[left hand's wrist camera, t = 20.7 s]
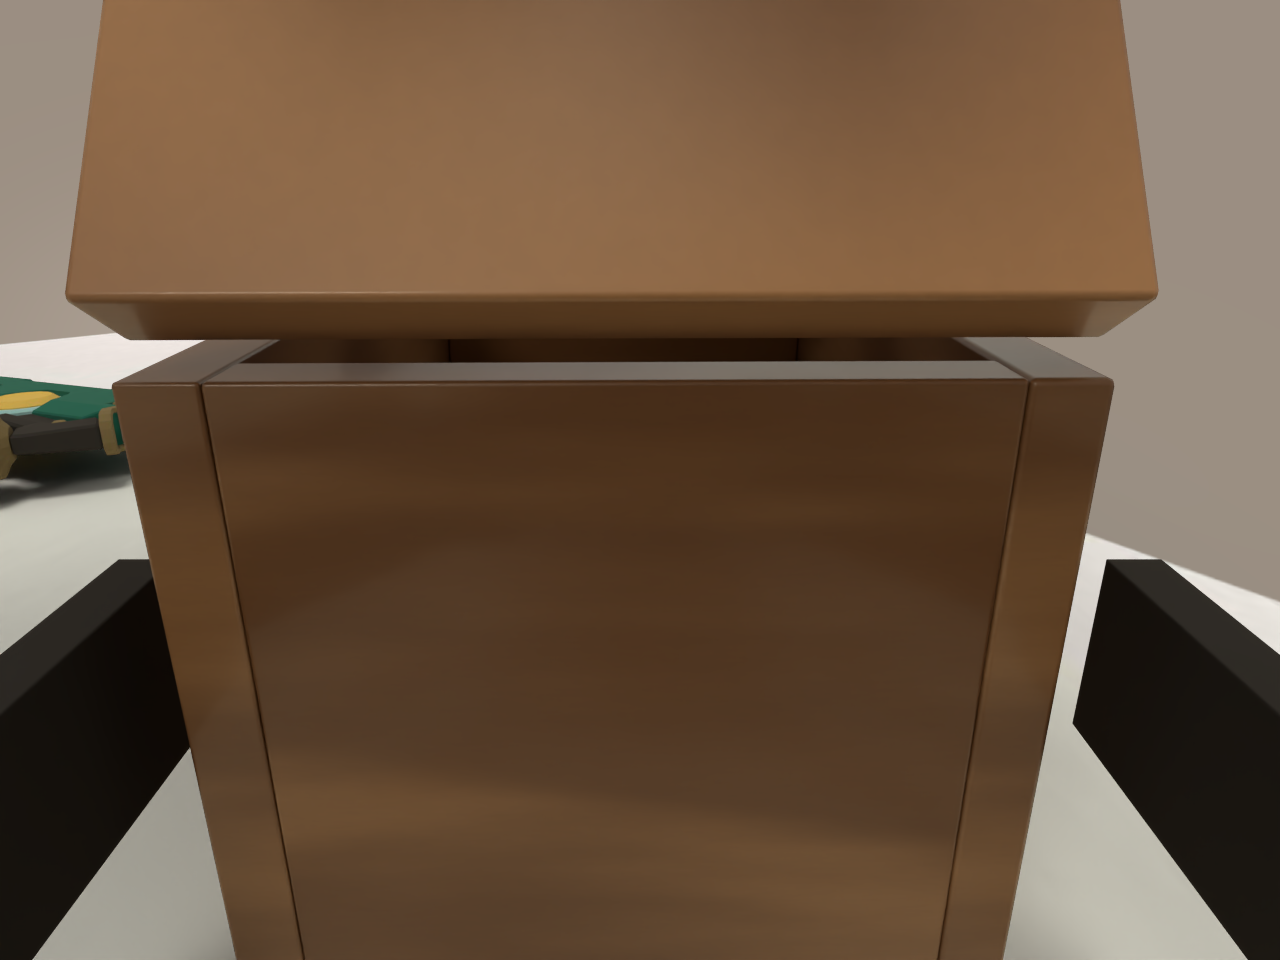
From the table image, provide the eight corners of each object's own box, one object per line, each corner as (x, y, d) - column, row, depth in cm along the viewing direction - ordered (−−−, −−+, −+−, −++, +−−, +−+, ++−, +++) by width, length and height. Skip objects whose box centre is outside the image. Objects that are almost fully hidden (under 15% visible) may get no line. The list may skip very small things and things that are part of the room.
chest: (446, 649, 25) (410, 243, 21) (804, 647, 25) (834, 242, 21) (273, 1137, 13) (109, 382, 9) (972, 1126, 13) (1118, 379, 9)
